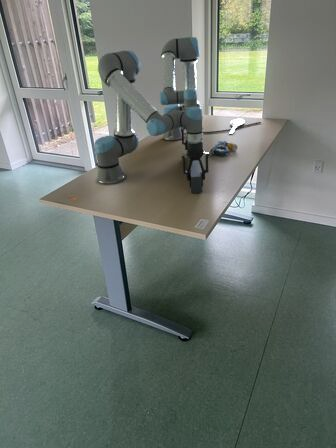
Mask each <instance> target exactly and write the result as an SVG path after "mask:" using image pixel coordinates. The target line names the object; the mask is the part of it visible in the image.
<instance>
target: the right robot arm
mask: <svg viewBox="0 0 336 448" xmlns="http://www.w3.org/2000/svg"><path fill="white" fill-rule="evenodd" d="M200 57H201V55H200V46H199V41H198V38H197V37H196V36H188V37H179V38H172V39H169V40H168V41H167V42H166V43H165V44H164V46H163V47H162V49H161V52H160V61H161V63H162V91H160V92H159V103H160V105H161V106H165V107H164V108H163V115H164V114H165V113H166V111H167V110H178V111H186V108H188V107H200V108H201V109H202V105H201V104H200V102H199V101H198V92H197V68H196V65H197V64H196V63H197V62H198V59H199V58H200ZM177 60H179V62H180V63H181V64H182V79H183V90H176V73H175V72H176V68H175V62H176V61H177ZM258 124H261V121H258V122H252V123H249V124H246V125H245V124H244V125H240V126H237V127H236V128H235V130H238V129H242V128H245V127H246V128H247V127H249V126H253V125H258ZM203 127H204V126H202V130H203V129H204V128H203ZM231 129H232V128H228V129H223V130H212V131H202V132H203V134H214V133H215V134H216V133H222V132H228V131H229V132H230V131H231ZM185 130H186V128H181V127H177V128H175V129H172V130H170V131H167V132H165V133H163V134H162V139H163V140H164V141H167V142H176V141H180V140H181V144H182V146H183V145H184V150H185V151H187V142H188V141H187V132H185ZM185 135H186V137H185Z"/></svg>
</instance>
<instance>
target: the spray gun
mask: <svg viewBox="0 0 336 448" xmlns="http://www.w3.org/2000/svg"><path fill="white" fill-rule="evenodd" d="M237 150H238V144H235V143H233V142H227V140H223V141H217V143H215V145H214V146H213V147H212V148H211V149H210V150H209V154H211V155H212V156H214V155H216V156H220V157H227V156H229V155H230V153H231V151H232V152H236V151H237Z"/></svg>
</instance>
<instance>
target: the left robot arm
mask: <svg viewBox="0 0 336 448" xmlns="http://www.w3.org/2000/svg"><path fill="white" fill-rule="evenodd" d="M140 71H141V62H140V58H139V57H138V56H137V54H136V53H135V52H134V51H132V50H120V51H115V52H107V53H104V54H103V55H102V56H101V57H100V59H99V61H98V64H97V72H98V75H99V77H100V79H101V80H102V82H103V83H104V85H105V86H106V87H107V88H108V89H113V90H114V92H115V128H114V129H113V135H105V136H101V137H99V138H97V139H96V140H95V141H94V144H93V146H94V152H95V157H96V161H97V162H96V165H95V166H96V167H97V168H98V169H97V170H98V171H97V178H96V179H97V182H98V184H101V185H114V184H119V183H120V182H122V181H124V179H125V173H124V171H123V169H122V167H121V165H120V160H119V159H120V158H122V157H124V156H126V155H129V154H131V153H133V152H135V151H136V150H137V148H138V146H139V138H138V135H137V133H136V132H135V130H134V129H133V111H134V112H135V113H136V114H137V115H138V116H139V118H141V120H142V121H144V123H145V124H146V130H147V132H148V134H149V135H151V136H153V137H158V136H161V135H162V136H163V134H164V133H165V132H167V131H170V130H172V129H175V128H177V127H181V128H186V129H185V131H186V133H187V135H186V136H187V141H188V142H187V150H186V152H185V153H182V154H181V158H182V159H181V160H182V171H183V172H182V173H183V175H186V180H187V181H188V182H189V188H191V173H190V170H191V166H192V162H193V161H194V160H198V161H199V164H200V168H201V174H202V187H204V181H205V179H206V174H207V173H209V172H210V171H209V157H210V151H209V152H208V151H206V152H205V151H204V141H203V138H204V137H203V135H204V133H203V132H204V131H203V129H202V127H203V110H202V107H201V108H200V107H188V108H186V111H178V110H167V111H166V113H165V114H164V113H163V114H161V113H160V112H159V110H158V109H156V108H155V106H153V104H151V103H150V102H149V100H147V98H145V97H144V96H143V94H142V93H140V91H139V90H138V89H136V87H135V86H134V84H135V83H136V76H137V75H138V74H139V73H140ZM203 156H204V159H205V160H204V161H205V167H204V164H203V161H202V158H203ZM187 158H188V159H189V158H190V161H189V160H188V166H187V165H186V162H187V161H186V159H187ZM186 166H187V167H186ZM186 169H187V170H186Z"/></svg>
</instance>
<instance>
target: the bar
mask: <svg viewBox="0 0 336 448" xmlns="http://www.w3.org/2000/svg"><path fill="white" fill-rule="evenodd" d="M189 161H190V158H189V157H188V162H189ZM190 173H191V187H190V188H191V189H190V190H191V194H196V193H203V186H202V174H201V173H202V170H201V167H200V164H199V161H198V160H194V161H193V162H192V166H191V170H190Z"/></svg>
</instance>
